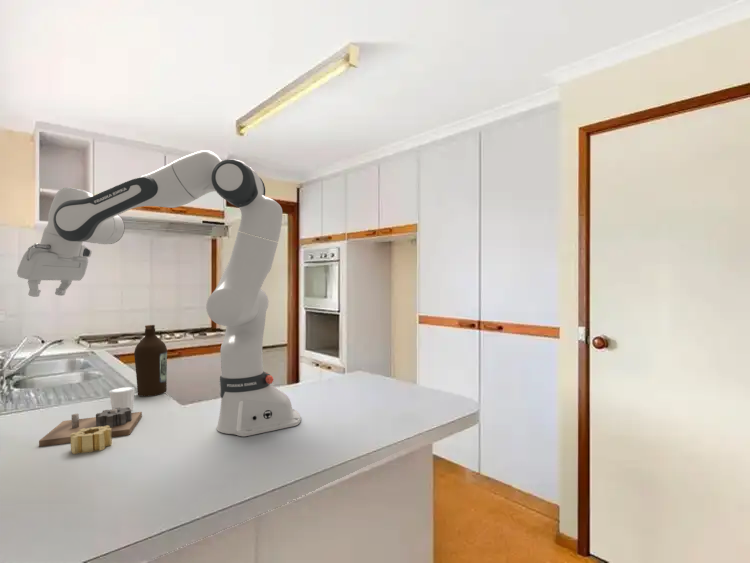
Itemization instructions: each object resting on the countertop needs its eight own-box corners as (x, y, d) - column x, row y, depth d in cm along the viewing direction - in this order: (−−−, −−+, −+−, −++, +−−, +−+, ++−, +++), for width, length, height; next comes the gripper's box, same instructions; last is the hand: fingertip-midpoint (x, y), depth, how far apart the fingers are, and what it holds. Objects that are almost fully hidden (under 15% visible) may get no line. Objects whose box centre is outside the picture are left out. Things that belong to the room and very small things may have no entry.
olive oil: (131, 398, 147) (128, 327, 147) (141, 390, 158) (138, 324, 158) (164, 395, 150) (161, 325, 150) (171, 388, 160) (169, 323, 160)
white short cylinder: (123, 415, 129) (122, 392, 129) (104, 414, 130) (103, 391, 130) (140, 408, 135) (139, 386, 135) (122, 407, 137) (121, 386, 137)
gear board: (141, 416, 126) (141, 400, 126) (129, 434, 111) (129, 416, 111) (63, 426, 120) (62, 408, 120) (39, 446, 105) (38, 426, 105)
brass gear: (115, 439, 108) (114, 424, 108) (107, 449, 102) (107, 433, 102) (76, 445, 105) (76, 429, 105) (66, 455, 99) (66, 438, 99)
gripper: (43, 246, 103) (28, 300, 103) (95, 252, 124) (83, 297, 123) (18, 239, 103) (2, 293, 103) (74, 246, 123) (61, 291, 123)
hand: (47, 295), depth 113 cm, fingers open, 8 cm apart
